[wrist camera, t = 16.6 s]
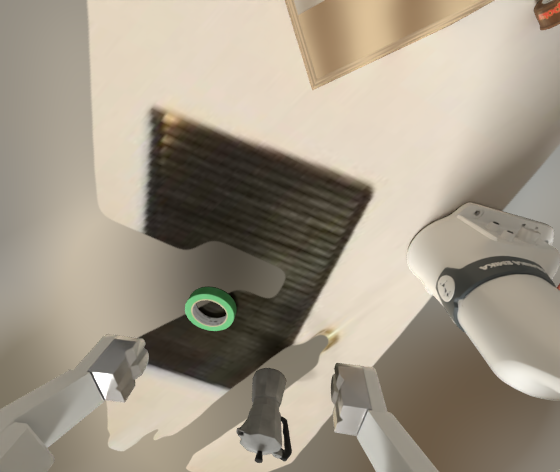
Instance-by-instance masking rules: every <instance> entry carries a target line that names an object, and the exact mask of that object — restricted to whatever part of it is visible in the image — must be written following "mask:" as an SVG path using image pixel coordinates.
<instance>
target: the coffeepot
mask: <svg viewBox="0 0 560 472" xmlns="http://www.w3.org/2000/svg"><path fill="white" fill-rule="evenodd" d="M285 385H286V378H285V377H284V375H283V374H282V373H281V372H280V371H278V370H275V369H271V368H264V369H260V370H258V371H256V373H255V375H254V377H253V388H252V402H253V405H252V408H251V410H250V412H249V416H248V418H247V420H246V421H245V423H244V424H243V425H242V426H241V427H240V428H237V434H238V436H239V437H240V438H241V441H240V444H241V445H242V446H243V447H244V448H245V449H246V450H247V451H250V452H254V453H257V454H256V458H255V461H256V462H257V463H262V455H267V454H272V455H273V456H274V457H276V458H279V459H281V460H283V461H286V460H287V459H288V458H289V457H290V455H291V453H292V449H291V443H290V437H289V430H288V424H287V420H286V419H285V418H284V417H282V416H281V415H280V412H279V407H280V404H281V401H282V397H283V393H284V389H285ZM281 421H282V423H283V434H284V446H285V450H283V449H282V448H281V447H282V436H281Z"/></svg>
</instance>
